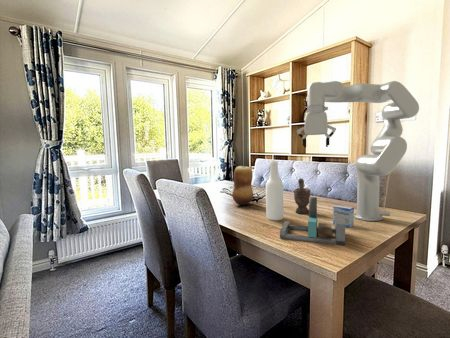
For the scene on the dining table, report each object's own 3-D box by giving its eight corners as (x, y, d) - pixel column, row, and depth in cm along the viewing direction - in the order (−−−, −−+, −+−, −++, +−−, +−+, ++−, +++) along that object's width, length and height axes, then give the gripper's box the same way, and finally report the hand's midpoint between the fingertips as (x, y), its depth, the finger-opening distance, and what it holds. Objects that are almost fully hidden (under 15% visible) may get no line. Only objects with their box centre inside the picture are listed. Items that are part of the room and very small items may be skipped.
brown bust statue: (314, 216, 130) (314, 178, 128) (297, 216, 130) (297, 179, 129) (307, 210, 142) (307, 175, 140) (292, 210, 142) (292, 176, 140)
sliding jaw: (317, 226, 109) (317, 194, 108) (316, 237, 96) (316, 201, 95) (310, 225, 110) (310, 194, 109) (308, 236, 97) (308, 201, 96)
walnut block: (331, 235, 103) (331, 223, 102) (331, 239, 98) (331, 227, 98) (318, 234, 105) (318, 222, 104) (318, 238, 100) (318, 226, 100)
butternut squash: (252, 207, 152) (251, 167, 150) (231, 207, 155) (229, 167, 152) (254, 202, 166) (253, 165, 164) (234, 202, 168) (233, 165, 166)
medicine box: (332, 224, 116) (332, 206, 116) (336, 222, 119) (336, 204, 119) (350, 228, 111) (350, 209, 110) (353, 225, 114) (354, 207, 113)
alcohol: (272, 221, 123) (271, 161, 120) (263, 217, 131) (261, 160, 128) (287, 219, 127) (286, 160, 124) (277, 214, 135) (276, 159, 132)
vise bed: (342, 232, 105) (342, 214, 105) (344, 245, 92) (345, 224, 92) (284, 227, 114) (284, 210, 114) (279, 238, 101) (279, 219, 101)
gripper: (335, 109, 116) (335, 146, 117) (297, 112, 122) (297, 147, 124) (336, 107, 109) (336, 146, 110) (295, 111, 115) (296, 147, 117)
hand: (315, 147), depth 117 cm, fingers open, 9 cm apart
